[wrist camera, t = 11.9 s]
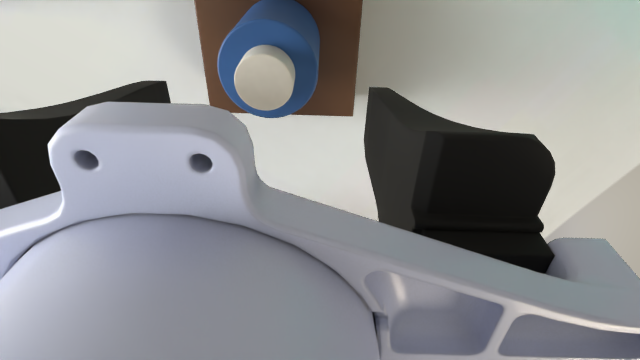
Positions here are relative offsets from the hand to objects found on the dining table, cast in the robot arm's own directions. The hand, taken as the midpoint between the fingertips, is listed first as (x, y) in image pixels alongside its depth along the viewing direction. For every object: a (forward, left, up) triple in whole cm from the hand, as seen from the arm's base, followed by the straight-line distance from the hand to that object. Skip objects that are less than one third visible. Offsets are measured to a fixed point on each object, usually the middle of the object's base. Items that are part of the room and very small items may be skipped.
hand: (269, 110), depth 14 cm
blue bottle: (0, +1, -7) cm, 7 cm away
